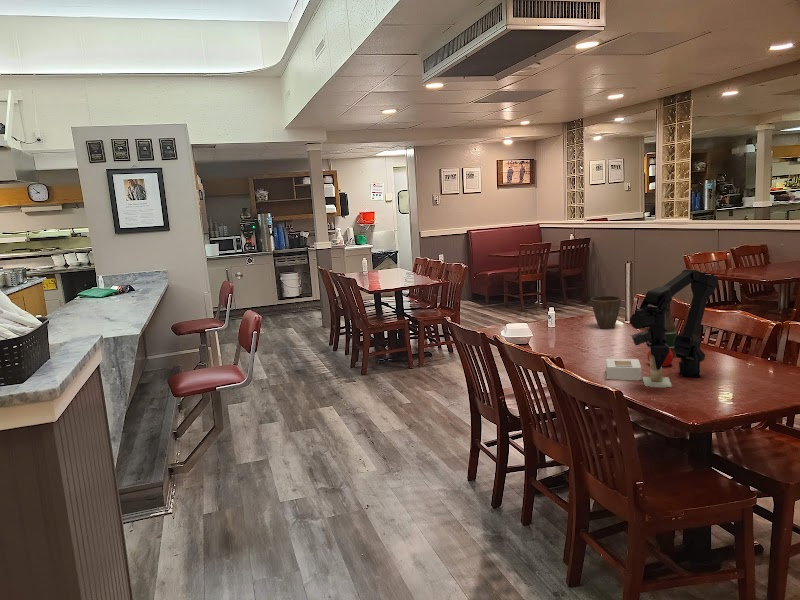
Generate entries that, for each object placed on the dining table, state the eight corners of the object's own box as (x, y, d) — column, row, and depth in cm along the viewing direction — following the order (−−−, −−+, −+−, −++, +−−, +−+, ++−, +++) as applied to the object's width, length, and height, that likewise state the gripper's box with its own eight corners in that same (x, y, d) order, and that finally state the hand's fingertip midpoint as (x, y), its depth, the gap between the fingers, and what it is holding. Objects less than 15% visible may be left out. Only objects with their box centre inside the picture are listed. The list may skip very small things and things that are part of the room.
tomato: (670, 362, 234) (671, 344, 233) (674, 368, 226) (674, 350, 224) (646, 361, 237) (646, 344, 236) (648, 367, 228) (648, 349, 227)
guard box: (638, 371, 225) (638, 358, 224) (641, 380, 213) (641, 367, 212) (606, 370, 228) (606, 358, 227) (607, 379, 217) (607, 366, 216)
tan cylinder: (661, 378, 210) (660, 352, 208) (663, 382, 206) (661, 355, 205) (650, 378, 211) (648, 353, 210) (651, 382, 208) (649, 356, 206)
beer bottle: (655, 357, 241) (655, 302, 238) (656, 353, 248) (656, 299, 244) (675, 358, 238) (676, 302, 234) (676, 354, 245) (676, 299, 241)
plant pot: (603, 332, 293) (603, 301, 290) (585, 327, 307) (585, 298, 304) (627, 328, 298) (627, 298, 295) (608, 323, 312) (608, 295, 309)
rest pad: (668, 380, 212) (668, 377, 212) (671, 387, 203) (671, 385, 203) (642, 379, 215) (642, 376, 214) (644, 386, 206) (644, 384, 206)
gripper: (631, 319, 217) (631, 359, 219) (635, 330, 199) (635, 373, 202) (662, 319, 213) (662, 359, 216) (670, 330, 196) (669, 374, 198)
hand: (656, 366), depth 208 cm, fingers open, 8 cm apart
